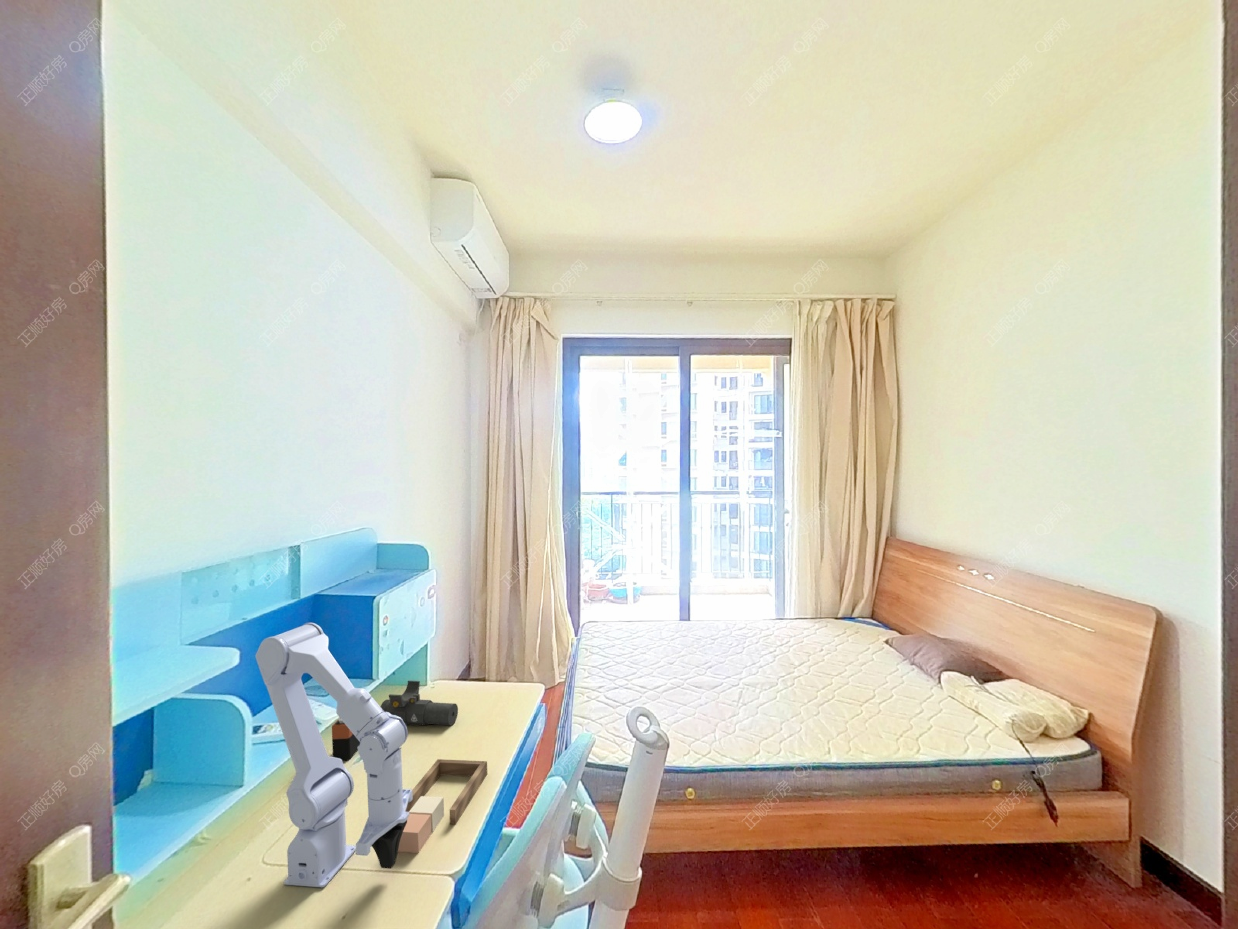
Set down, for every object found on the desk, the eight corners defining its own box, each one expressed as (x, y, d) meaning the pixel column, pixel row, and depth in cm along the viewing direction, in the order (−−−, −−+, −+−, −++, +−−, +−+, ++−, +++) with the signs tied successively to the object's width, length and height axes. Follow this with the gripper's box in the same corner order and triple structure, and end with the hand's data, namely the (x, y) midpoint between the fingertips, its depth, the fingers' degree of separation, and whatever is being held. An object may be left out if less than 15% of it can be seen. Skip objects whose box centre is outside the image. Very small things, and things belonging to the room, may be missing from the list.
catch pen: (455, 824, 106) (455, 810, 106) (399, 821, 108) (398, 806, 108) (487, 774, 123) (487, 761, 123) (438, 771, 125) (437, 759, 125)
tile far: (432, 833, 104) (432, 813, 104) (409, 831, 105) (408, 812, 105) (444, 816, 109) (443, 797, 109) (421, 815, 110) (420, 796, 110)
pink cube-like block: (418, 853, 99) (418, 833, 99) (394, 852, 100) (393, 831, 100) (431, 834, 104) (430, 815, 104) (407, 833, 105) (407, 813, 104)
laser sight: (444, 734, 143) (443, 698, 143) (371, 729, 147) (370, 694, 147) (461, 716, 153) (460, 682, 153) (392, 712, 157) (391, 679, 156)
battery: (332, 762, 131) (330, 722, 131) (345, 747, 138) (343, 709, 138) (349, 760, 131) (348, 721, 131) (361, 746, 138) (360, 708, 138)
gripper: (382, 819, 85) (385, 901, 86) (426, 767, 100) (428, 837, 100) (343, 817, 86) (346, 898, 86) (392, 765, 101) (394, 835, 101)
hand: (388, 865), depth 93 cm, fingers closed
